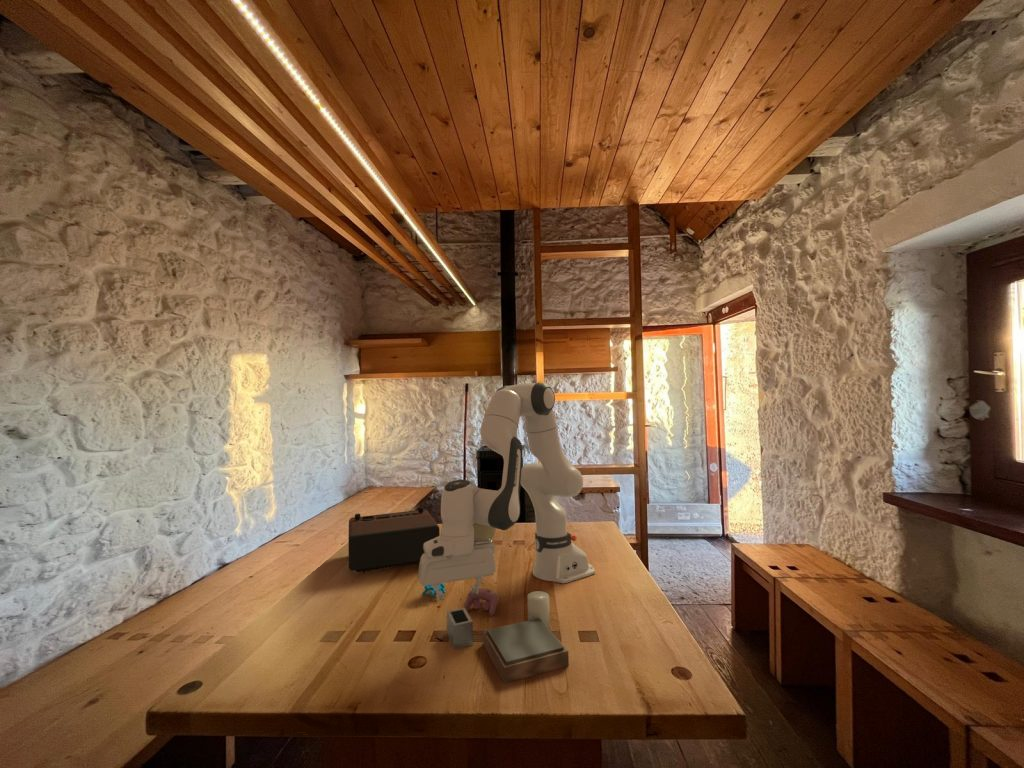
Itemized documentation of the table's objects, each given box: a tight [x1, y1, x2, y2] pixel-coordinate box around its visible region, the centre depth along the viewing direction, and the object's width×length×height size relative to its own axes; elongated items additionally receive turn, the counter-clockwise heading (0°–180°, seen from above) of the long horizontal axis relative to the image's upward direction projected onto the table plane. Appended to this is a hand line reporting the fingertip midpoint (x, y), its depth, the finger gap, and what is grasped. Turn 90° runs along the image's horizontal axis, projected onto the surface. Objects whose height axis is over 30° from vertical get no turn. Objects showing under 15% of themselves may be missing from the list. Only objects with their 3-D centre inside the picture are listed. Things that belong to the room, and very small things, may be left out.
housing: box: [446, 607, 474, 650], centre depth 112 cm, size 5×8×6 cm, turn 21°
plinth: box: [482, 618, 570, 684], centre depth 104 cm, size 16×16×4 cm
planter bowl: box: [473, 523, 497, 541], centre depth 183 cm, size 16×16×11 cm
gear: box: [421, 583, 447, 599], centre depth 138 cm, size 11×6×10 cm
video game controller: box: [462, 587, 499, 617], centre depth 127 cm, size 10×5×7 cm, turn 71°
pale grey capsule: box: [527, 590, 551, 629], centre depth 118 cm, size 6×6×8 cm
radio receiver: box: [347, 506, 441, 573], centre depth 169 cm, size 35×27×18 cm
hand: (457, 596), depth 112 cm, fingers open, 8 cm apart
